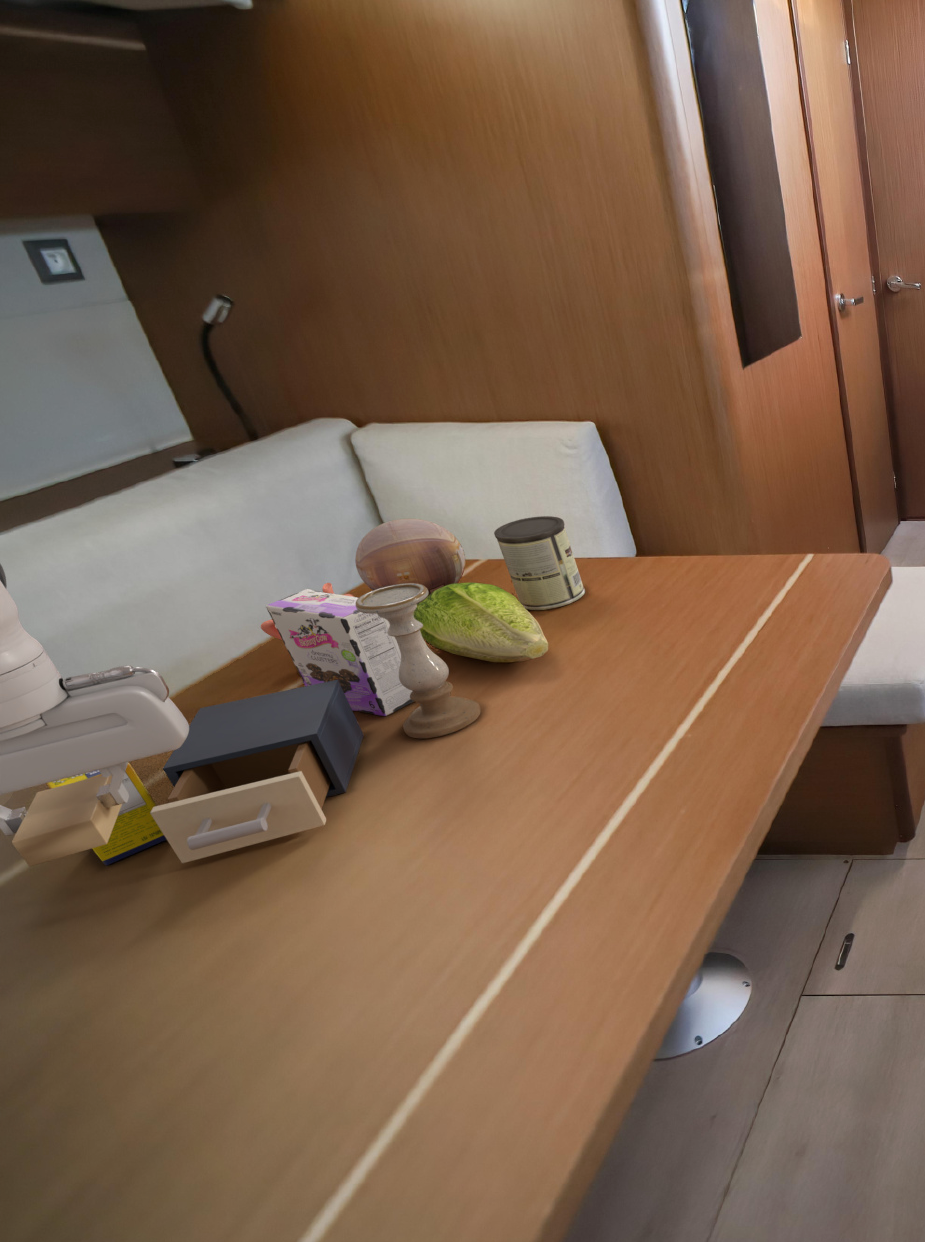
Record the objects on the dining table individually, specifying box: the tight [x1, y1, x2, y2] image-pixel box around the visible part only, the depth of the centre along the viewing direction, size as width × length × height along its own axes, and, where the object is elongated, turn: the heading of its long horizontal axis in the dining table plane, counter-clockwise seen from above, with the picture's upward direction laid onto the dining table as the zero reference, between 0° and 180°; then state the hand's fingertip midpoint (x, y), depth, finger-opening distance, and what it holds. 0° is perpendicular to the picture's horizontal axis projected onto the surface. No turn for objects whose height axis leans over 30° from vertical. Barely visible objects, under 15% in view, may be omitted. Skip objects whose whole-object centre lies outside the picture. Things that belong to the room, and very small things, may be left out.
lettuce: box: [413, 582, 549, 663], centre depth 142 cm, size 12×24×13 cm
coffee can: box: [493, 515, 586, 611], centre depth 159 cm, size 10×10×14 cm
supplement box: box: [45, 762, 168, 867], centre depth 101 cm, size 6×6×11 cm
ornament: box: [354, 518, 467, 602], centre depth 158 cm, size 15×15×15 cm
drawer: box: [150, 741, 331, 864], centre depth 104 cm, size 18×12×7 cm
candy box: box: [265, 588, 415, 717], centre depth 128 cm, size 14×6×16 cm, turn 76°
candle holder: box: [355, 583, 481, 739], centre depth 122 cm, size 9×9×20 cm
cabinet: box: [162, 680, 365, 798], centre depth 113 cm, size 15×14×9 cm
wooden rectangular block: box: [11, 775, 122, 867], centre depth 86 cm, size 5×9×3 cm, turn 39°
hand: (69, 815), depth 86 cm, fingers closed on wooden rectangular block, 5 cm apart
